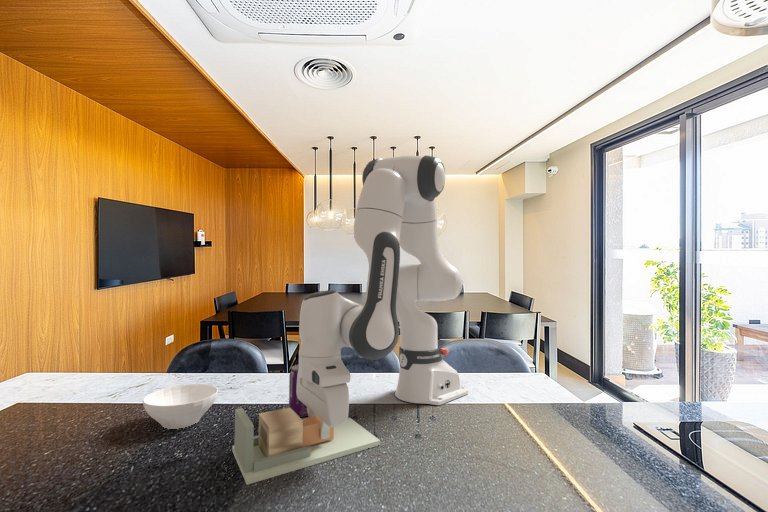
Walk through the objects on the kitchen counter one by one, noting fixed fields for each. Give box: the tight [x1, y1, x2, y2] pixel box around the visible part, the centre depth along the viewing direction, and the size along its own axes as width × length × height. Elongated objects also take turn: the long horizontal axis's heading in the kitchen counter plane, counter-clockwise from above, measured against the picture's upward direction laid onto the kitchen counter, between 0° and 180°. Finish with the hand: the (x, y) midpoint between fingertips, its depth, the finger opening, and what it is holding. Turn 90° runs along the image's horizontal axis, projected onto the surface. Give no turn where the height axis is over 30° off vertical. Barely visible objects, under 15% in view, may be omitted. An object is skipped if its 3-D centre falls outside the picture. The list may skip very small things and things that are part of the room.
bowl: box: [142, 383, 219, 430], centre depth 88 cm, size 16×16×7 cm
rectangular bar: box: [301, 416, 334, 447], centre depth 75 cm, size 12×4×4 cm, turn 122°
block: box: [258, 406, 303, 457], centre depth 72 cm, size 6×8×6 cm
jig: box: [231, 407, 381, 486], centre depth 75 cm, size 27×14×9 cm, turn 122°
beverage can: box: [288, 364, 308, 418], centre depth 94 cm, size 7×7×12 cm
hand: (319, 432), depth 77 cm, fingers closed on rectangular bar, 4 cm apart
